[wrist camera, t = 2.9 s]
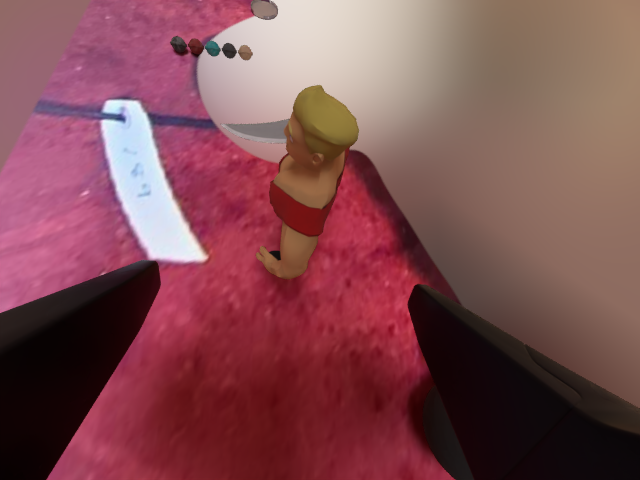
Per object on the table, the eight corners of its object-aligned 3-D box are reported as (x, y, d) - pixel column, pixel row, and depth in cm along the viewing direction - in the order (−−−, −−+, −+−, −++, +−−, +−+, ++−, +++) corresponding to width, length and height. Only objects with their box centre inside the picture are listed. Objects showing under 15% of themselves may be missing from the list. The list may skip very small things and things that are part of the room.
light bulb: (563, 370, 19) (568, 537, 12) (496, 391, 23) (473, 521, 16) (482, 310, 20) (448, 428, 14) (434, 341, 25) (392, 440, 18)
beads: (171, 37, 26) (174, 52, 27) (167, 33, 25) (169, 49, 25) (252, 47, 28) (253, 62, 28) (251, 44, 26) (252, 59, 27)
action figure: (289, 187, 24) (317, -7, 10) (325, 200, 24) (402, 31, 10) (250, 282, 21) (210, 194, 7) (292, 296, 21) (339, 241, 7)
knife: (223, 147, 24) (219, 119, 24) (224, 150, 24) (220, 123, 25) (356, 134, 26) (350, 110, 27) (355, 138, 27) (348, 114, 27)
